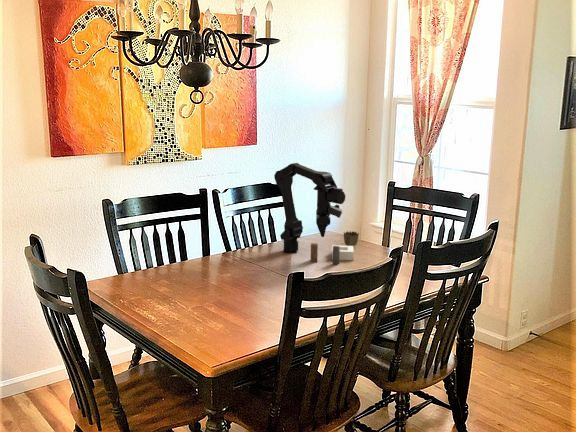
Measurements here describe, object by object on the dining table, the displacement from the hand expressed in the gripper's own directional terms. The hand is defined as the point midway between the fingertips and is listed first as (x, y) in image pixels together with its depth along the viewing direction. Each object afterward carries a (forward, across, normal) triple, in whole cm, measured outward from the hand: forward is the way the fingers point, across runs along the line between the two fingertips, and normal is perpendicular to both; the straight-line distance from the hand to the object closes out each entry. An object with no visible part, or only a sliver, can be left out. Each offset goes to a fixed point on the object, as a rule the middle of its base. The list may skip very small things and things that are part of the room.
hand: (322, 234), depth 268 cm
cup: (+12, +19, -14) cm, 27 cm away
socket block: (+12, +5, -10) cm, 16 cm away
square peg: (+12, -2, +4) cm, 13 cm away
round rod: (+12, -6, -6) cm, 15 cm away
